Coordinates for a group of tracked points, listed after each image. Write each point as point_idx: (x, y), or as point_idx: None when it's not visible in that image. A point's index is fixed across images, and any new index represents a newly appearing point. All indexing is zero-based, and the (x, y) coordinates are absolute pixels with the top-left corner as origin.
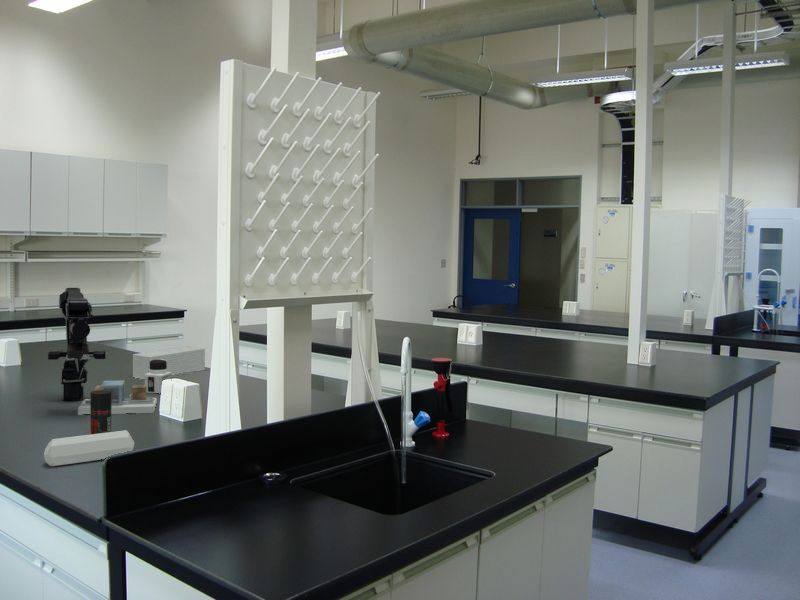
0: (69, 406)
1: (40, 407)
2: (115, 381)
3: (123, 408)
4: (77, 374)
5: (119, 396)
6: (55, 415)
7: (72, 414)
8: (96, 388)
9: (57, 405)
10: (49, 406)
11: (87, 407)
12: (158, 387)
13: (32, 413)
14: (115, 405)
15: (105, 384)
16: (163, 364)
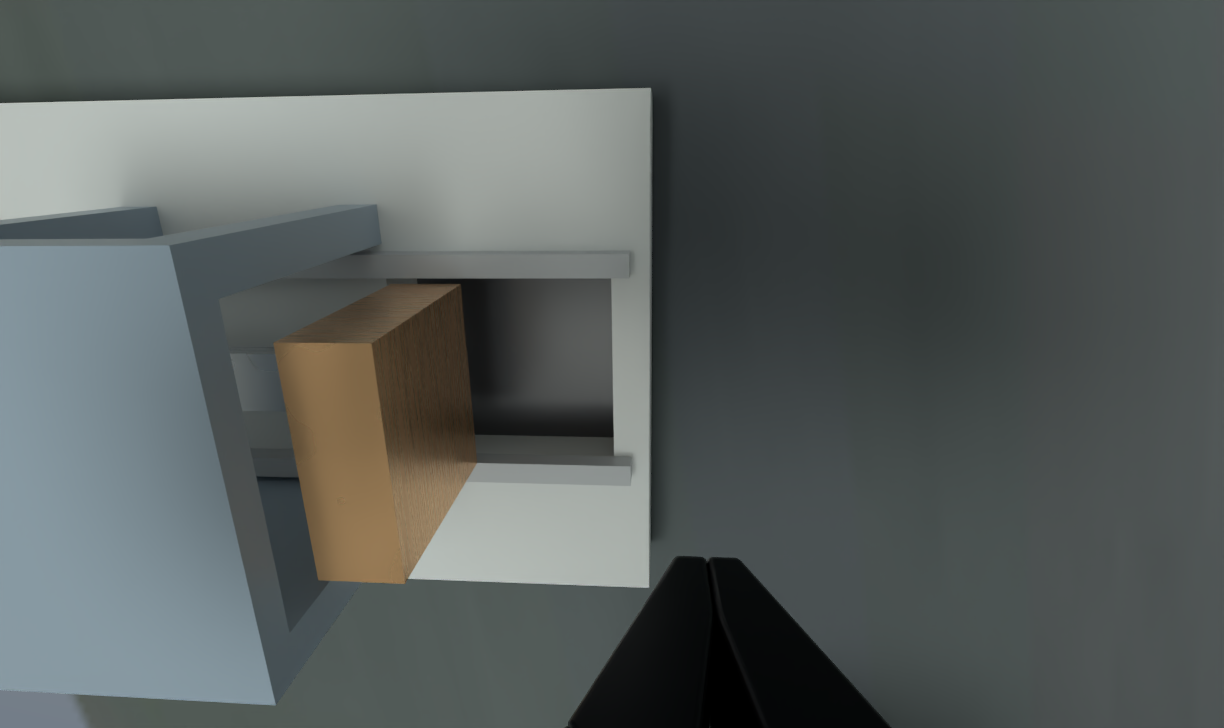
0: (806, 541)
1: (1114, 539)
2: (54, 621)
3: (79, 102)
4: (729, 614)
5: (33, 219)
6: (929, 114)
7: (725, 148)
8: (337, 341)
9: (934, 599)
10: (1017, 569)
11: (529, 129)
12: None
13: (1216, 260)
14: (199, 217)
15: (119, 367)
16: None
